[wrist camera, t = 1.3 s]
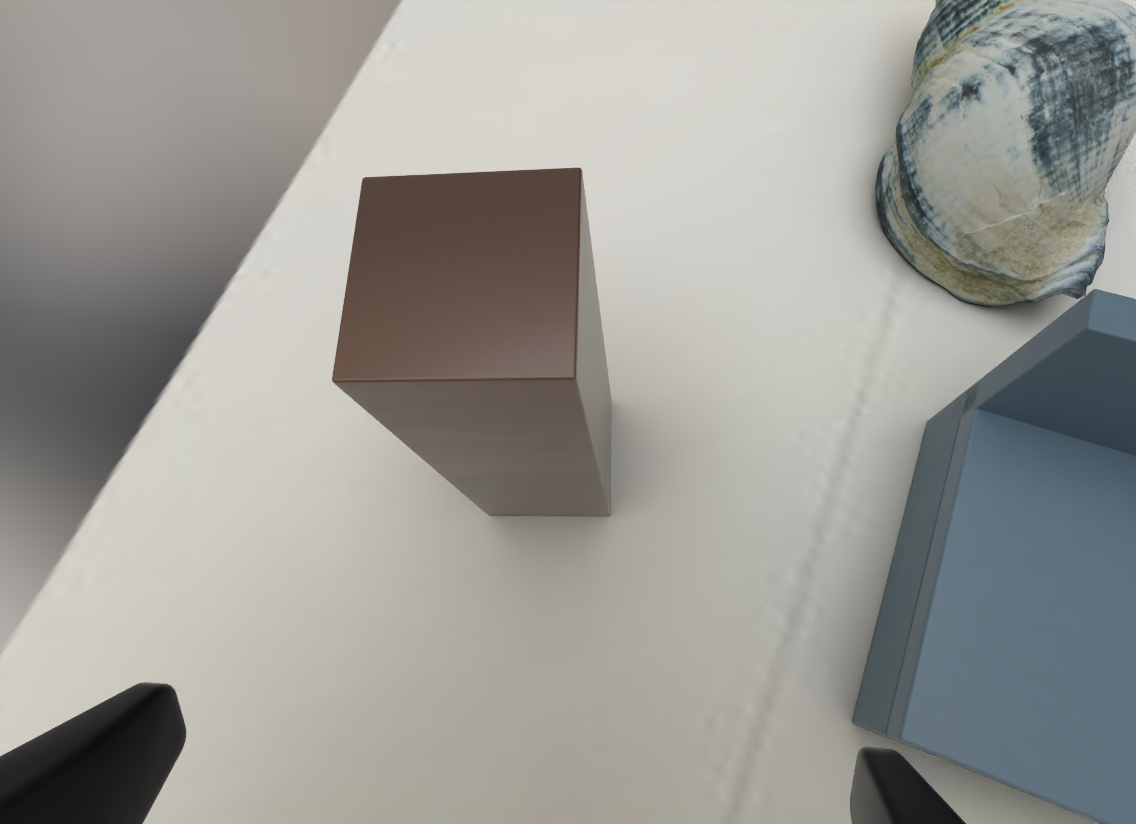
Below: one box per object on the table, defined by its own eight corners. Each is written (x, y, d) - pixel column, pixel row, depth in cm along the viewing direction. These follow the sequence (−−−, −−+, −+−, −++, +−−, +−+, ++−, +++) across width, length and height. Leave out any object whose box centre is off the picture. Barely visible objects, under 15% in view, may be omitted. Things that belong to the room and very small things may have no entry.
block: (610, 516, 23) (575, 378, 11) (487, 515, 23) (330, 382, 12) (611, 399, 24) (582, 166, 12) (495, 400, 25) (361, 176, 13)
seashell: (855, 299, 26) (939, 63, 29) (1096, 320, 22) (1167, 39, 25) (823, 186, 21) (927, -84, 24) (1126, 184, 17) (1209, -147, 20)
